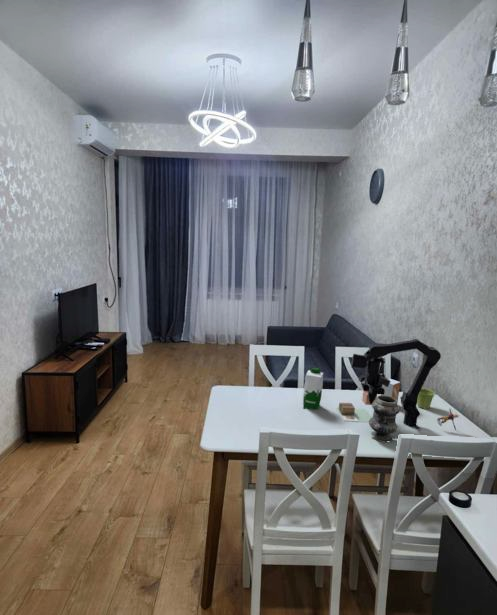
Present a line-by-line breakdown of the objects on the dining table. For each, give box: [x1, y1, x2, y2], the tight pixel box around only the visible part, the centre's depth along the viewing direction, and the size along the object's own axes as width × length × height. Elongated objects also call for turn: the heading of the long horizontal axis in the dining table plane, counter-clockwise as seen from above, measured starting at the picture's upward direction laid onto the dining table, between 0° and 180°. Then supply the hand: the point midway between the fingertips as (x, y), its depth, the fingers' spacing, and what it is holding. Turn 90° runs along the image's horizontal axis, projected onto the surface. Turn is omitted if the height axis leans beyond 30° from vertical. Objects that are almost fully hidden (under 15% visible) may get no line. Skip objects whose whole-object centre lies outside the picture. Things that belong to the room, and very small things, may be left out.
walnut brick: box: [338, 402, 356, 416], centre depth 207 cm, size 6×6×4 cm
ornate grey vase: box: [368, 394, 401, 443], centre depth 184 cm, size 12×12×18 cm
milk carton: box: [302, 367, 324, 410], centre depth 211 cm, size 9×9×20 cm
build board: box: [334, 407, 373, 423], centre depth 206 cm, size 16×16×1 cm
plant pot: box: [416, 387, 436, 410], centre depth 224 cm, size 9×9×9 cm
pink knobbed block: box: [361, 391, 378, 406], centre depth 201 cm, size 5×5×6 cm
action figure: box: [436, 408, 459, 431], centre depth 198 cm, size 12×3×9 cm
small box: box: [380, 378, 401, 404], centre depth 223 cm, size 8×6×13 cm
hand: (369, 401), depth 202 cm, fingers closed on pink knobbed block, 5 cm apart
